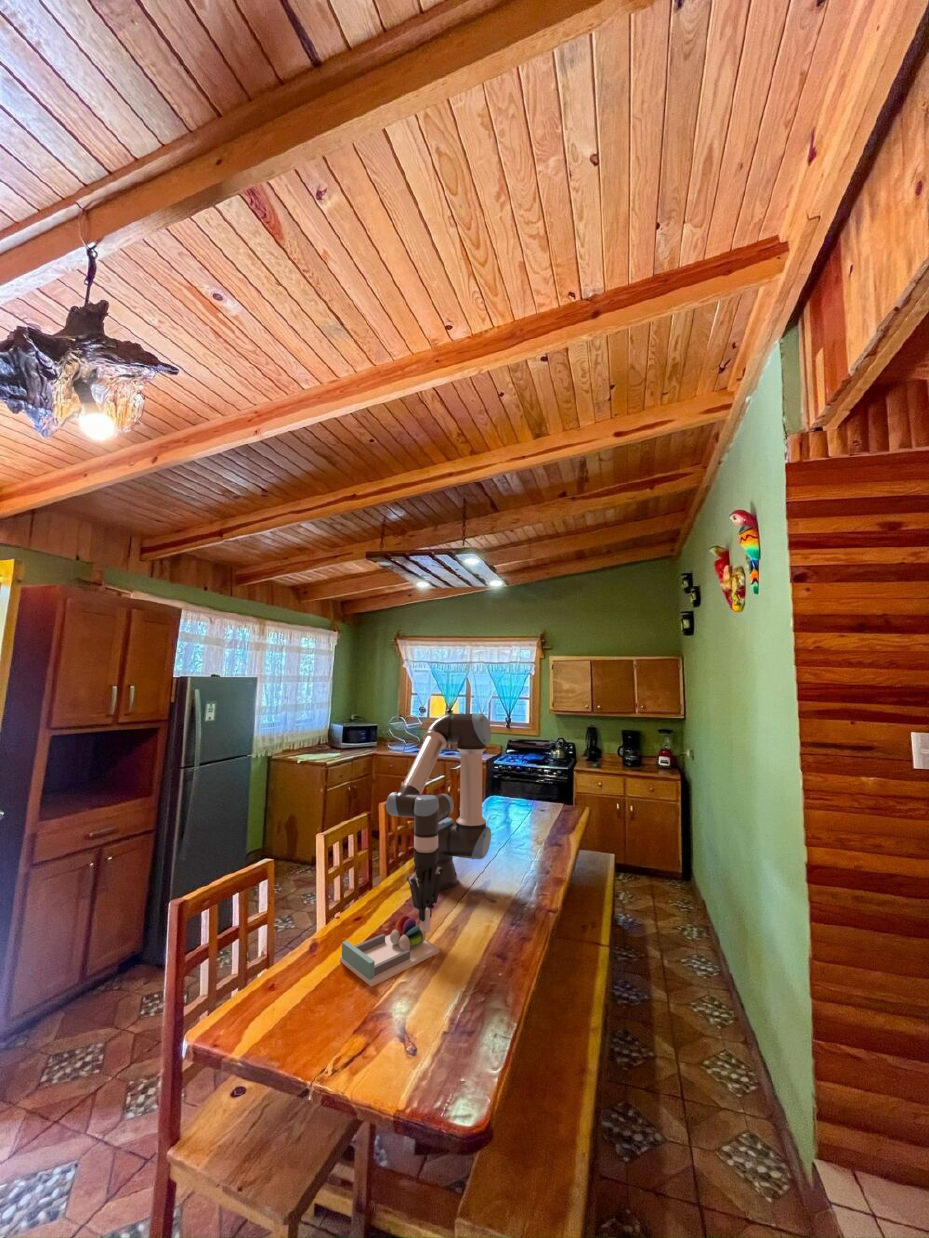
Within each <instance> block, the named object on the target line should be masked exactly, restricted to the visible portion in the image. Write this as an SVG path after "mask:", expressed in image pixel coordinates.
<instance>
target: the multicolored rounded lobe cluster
mask: <svg viewBox="0 0 929 1238" xmlns="http://www.w3.org/2000/svg"><path fill="white" fill-rule="evenodd" d="M390 934H391V935H390ZM390 934H389V935H390V940H391V942H392V944H394V945H399V946H400V948H401V949H402V950H403V951H406V950H409V949H410V945H416V944H418V943H420V944H421V943H423V942H424V940H426V936H427V935H426V934H427V933H425V931H424V930H423V929H422V928H420V926H419V925H417V922H416V920H415V918H414V917H413V918H412V917H410V916H409V915H402V917H401V918H400V919H398V921H397V922H396V923H395V929H393V930H392V931H391V933H390Z"/></svg>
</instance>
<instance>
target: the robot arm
mask: <svg viewBox="0 0 929 1238" xmlns="http://www.w3.org/2000/svg"><path fill="white" fill-rule="evenodd" d="M422 738H423V742H422V743H421V746H420V748H419V751H418V752H417V754H416V756H415V758H414V761H413V763H412V765H411V766H410V769H409V770H408V773H407V775H406V776H405V779H404V781H403V783H402V784H401V787H400V788H399V790H398V791H394V792H391V793H389V795H388V796H387V797H386V798H387V799H386V802H385V803H386V804H385V807H386V811H387V813H388V815H390V816H394V817H399V818H401V817H403V818H411V819H413V818H414V819H413V821H414V824H413V825H414V827H413V828H414V829H413V830H414V831H413V847H414V850H413V864H414V868H413V873H412V875H410V876H407V878H406V881H407V882H408V884H409V888H410V889H409V890H410V894H411V899H412V904H413V905H412V906H413V908H415V909H417V910H418V920H419V921H420V924H419V925H420V926H419V927H420V928H422V929H423V930H424V931H425V934H428V933H431V932H430V931H431V918H432V913H433V912H432V910H433V909H434V908H435V905H434V904H437V903H438V900H439V899H438V898H439V890H446V889H449V888H452V887H454V886H456V885H457V883H458V874H457V871H456V868H455V864H454V861H453V859H454V858H456V857H457V858H463V859H470V860H483V859H484V858H485V857H486V856H487V855H488V852H489V849H490V846H491V840H492V829H491V827H489V826H487V821H486V819H485V818H484V817H483V753H484V752H485V751H486V750H487V745H490V744H491V739H492V728H491V723H490V721H489V719H488V717H487V716H486V715H484V714H480V713H454V712H453V713H450V712H449V713H446V714H443V715H442V716H439V717H438V718H437V719H435V720H434V721H433V722H432V723H431V724H430V725H429V726H428V728H427V729H426V731H425V733H424V735H423V737H422ZM447 744H456V749H457V750H458V751H459V753H460V773H459V774H460V777H459V778H460V781H459V783H460V785H459V786H460V788H459V789H460V791H459V792H460V793H459V796H460V797H459V798H460V800H459V817H458V818H457V819H456V820H455V822H454V820H453V818H452V817H449V816H450V815H451V814H452V813H453V811H454V806H455V804H454V800H453V798H452V797H451V796H450V795H448V794H447V793H439V794H437V795H433V794H423V791H424V789H425V787H426V785H427V781H428V780H429V778H430V776H431V773H432V771H433V769H434V767H435V765H436V763H437V760H438V757H440V754H441V751H442V750H444V749H445V748H446V747H447Z"/></svg>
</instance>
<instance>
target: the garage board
mask: <svg viewBox="0 0 929 1238" xmlns="http://www.w3.org/2000/svg"><path fill="white" fill-rule="evenodd" d="M390 935H391V933H390V934H388V935H386V934H385V933H381V934H379V935H377V936H375V937H372V938H370V939H368V940H365V941H363V942H360V943H358V944H355V945H354V944H353V943H351V942H349V941H348V940H345V941H342V943H341V955H340V956H339V962H340V963H341V964H343V965H344V966H345V967H346V968H347V969H348V970H350V971H351V972H352V973H353V974H355V975H356V976H357V977H359V978H360V979H361V980H362V981H364V982H365V983H366V984H367V985H368V986H370V987H371V988H373V987H374V986H376V985H378V984H380V983H382V982H384V981H386V980H387V979H389V978H392V977H394V976H396V975H398V974H399V973H402V972H403V971H406V970H408V969H409V968H411V967H413V966H416V965H417V964H419V963H421V962H423V961H425V960H427V959H429V958H431V957H433V956H435V955H437V954H439V953H440V947H439V946H437V945H435V944H433V943H432V942H430V941H428V940H427V939H425V940H424V942H423V943H421V944H420V943H418V944H416V945H410V949H409V950H406V951H403V950H402V949H401V948H400V946H399V945H394V944H392V942H391V940H390Z"/></svg>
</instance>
